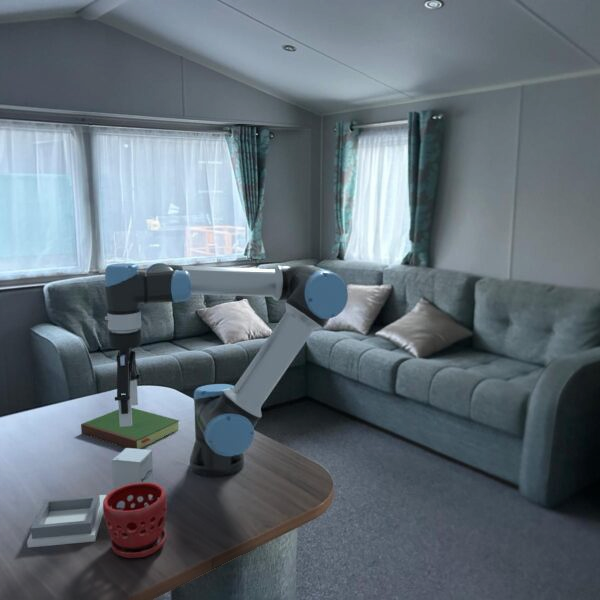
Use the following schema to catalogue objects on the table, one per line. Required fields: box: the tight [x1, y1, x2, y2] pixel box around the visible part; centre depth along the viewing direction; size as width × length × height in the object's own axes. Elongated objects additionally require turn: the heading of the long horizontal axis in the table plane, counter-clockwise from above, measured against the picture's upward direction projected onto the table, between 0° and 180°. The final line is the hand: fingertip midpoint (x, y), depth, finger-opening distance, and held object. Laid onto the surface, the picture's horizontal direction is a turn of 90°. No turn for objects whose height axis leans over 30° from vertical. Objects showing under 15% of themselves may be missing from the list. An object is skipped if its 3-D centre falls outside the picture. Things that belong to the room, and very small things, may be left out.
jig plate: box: [26, 494, 107, 548], centre depth 139 cm, size 14×18×4 cm
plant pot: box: [103, 482, 168, 559], centre depth 129 cm, size 13×13×12 cm
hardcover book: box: [80, 407, 180, 449], centre depth 191 cm, size 25×19×4 cm
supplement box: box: [111, 448, 154, 509], centre depth 148 cm, size 7×7×13 cm
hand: (129, 415), depth 145 cm, fingers open, 13 cm apart
